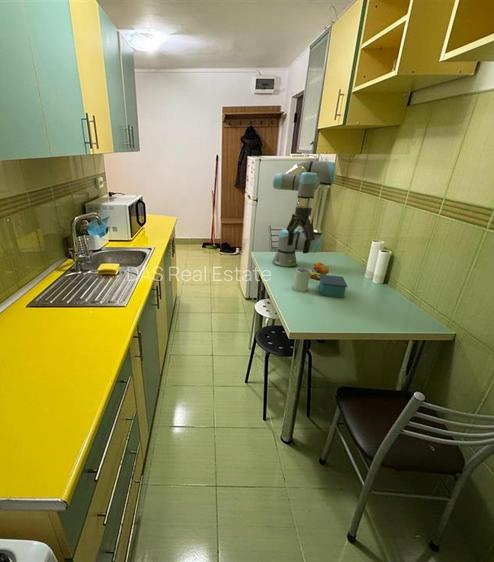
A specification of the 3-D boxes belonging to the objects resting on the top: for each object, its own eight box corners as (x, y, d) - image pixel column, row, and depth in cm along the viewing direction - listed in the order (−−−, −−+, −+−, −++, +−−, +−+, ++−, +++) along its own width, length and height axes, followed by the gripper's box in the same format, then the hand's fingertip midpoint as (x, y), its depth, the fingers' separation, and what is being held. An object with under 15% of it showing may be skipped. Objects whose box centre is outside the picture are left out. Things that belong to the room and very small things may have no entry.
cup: (293, 285, 171) (296, 267, 167) (306, 287, 170) (310, 268, 165) (293, 290, 165) (296, 272, 160) (307, 292, 163) (311, 273, 159)
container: (318, 285, 172) (320, 274, 169) (340, 288, 169) (342, 276, 166) (320, 295, 160) (323, 283, 157) (344, 298, 158) (347, 286, 155)
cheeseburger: (306, 272, 190) (313, 258, 185) (323, 278, 188) (330, 264, 183) (306, 277, 181) (313, 263, 176) (323, 284, 179) (331, 269, 174)
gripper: (283, 202, 155) (277, 242, 164) (313, 212, 133) (305, 257, 142) (295, 202, 157) (289, 241, 166) (327, 211, 136) (319, 256, 144)
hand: (297, 249), depth 154 cm, fingers open, 13 cm apart
